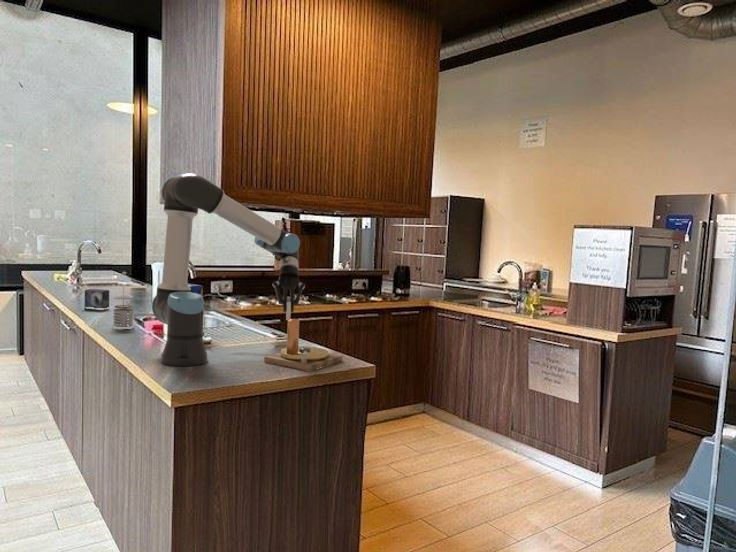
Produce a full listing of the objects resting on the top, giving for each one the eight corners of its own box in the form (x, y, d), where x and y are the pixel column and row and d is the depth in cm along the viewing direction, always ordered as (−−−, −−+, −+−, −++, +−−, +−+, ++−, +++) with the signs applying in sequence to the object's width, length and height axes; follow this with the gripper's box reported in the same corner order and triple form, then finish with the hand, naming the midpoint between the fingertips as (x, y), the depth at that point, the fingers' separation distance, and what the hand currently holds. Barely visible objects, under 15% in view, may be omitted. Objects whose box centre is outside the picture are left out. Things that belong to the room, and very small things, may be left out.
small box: (83, 309, 288) (83, 289, 287) (91, 308, 294) (92, 288, 293) (101, 311, 286) (102, 291, 285) (109, 309, 292) (110, 289, 292)
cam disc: (337, 357, 197) (339, 320, 196) (297, 363, 186) (299, 323, 185) (310, 348, 210) (311, 313, 209) (271, 353, 199) (272, 316, 198)
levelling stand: (310, 371, 185) (311, 356, 184) (264, 362, 194) (264, 348, 194) (342, 361, 202) (342, 347, 202) (298, 352, 212) (298, 340, 211)
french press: (127, 325, 250) (128, 270, 248) (141, 328, 244) (143, 272, 242) (106, 327, 242) (107, 271, 240) (120, 331, 236) (121, 273, 234)
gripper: (273, 263, 216) (271, 311, 200) (306, 265, 218) (306, 312, 203) (272, 275, 221) (270, 323, 206) (304, 277, 224) (304, 324, 208)
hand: (288, 318), depth 204 cm, fingers closed
